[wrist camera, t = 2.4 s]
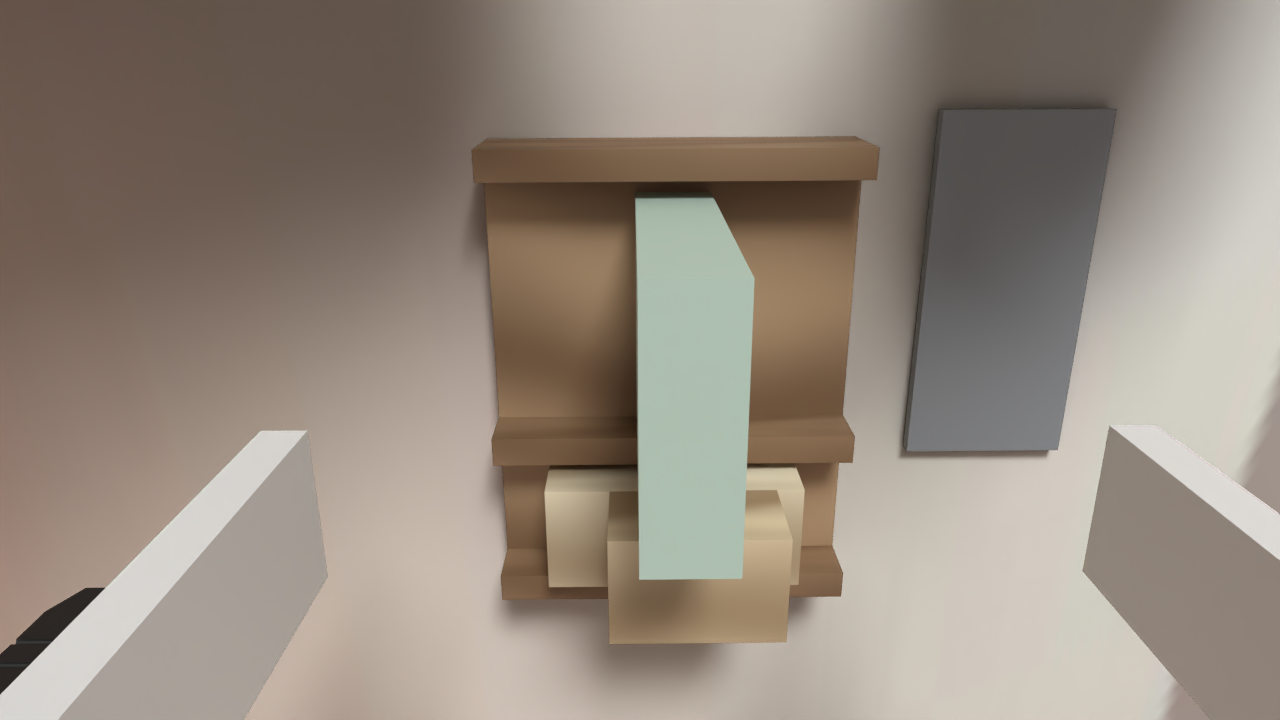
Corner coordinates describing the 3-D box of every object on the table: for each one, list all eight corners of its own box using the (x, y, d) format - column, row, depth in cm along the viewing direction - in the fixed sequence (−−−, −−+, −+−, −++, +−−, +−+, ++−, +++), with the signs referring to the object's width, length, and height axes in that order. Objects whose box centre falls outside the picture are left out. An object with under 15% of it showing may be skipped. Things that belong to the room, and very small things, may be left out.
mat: (938, 109, 24) (944, 110, 24) (1109, 108, 24) (1116, 109, 24) (902, 445, 27) (906, 451, 27) (1052, 444, 27) (1057, 450, 27)
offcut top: (609, 491, 24) (607, 541, 21) (777, 490, 24) (792, 539, 22) (611, 586, 25) (609, 643, 23) (771, 584, 25) (786, 642, 23)
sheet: (635, 192, 24) (637, 279, 15) (710, 191, 24) (754, 278, 15) (636, 400, 26) (638, 579, 17) (705, 399, 26) (742, 578, 17)
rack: (487, 138, 24) (471, 149, 22) (855, 136, 24) (879, 147, 22) (513, 553, 28) (502, 599, 26) (823, 550, 29) (840, 596, 26)
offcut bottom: (552, 451, 26) (544, 492, 24) (789, 449, 26) (804, 489, 24) (555, 539, 27) (549, 586, 25) (784, 537, 27) (798, 584, 25)
